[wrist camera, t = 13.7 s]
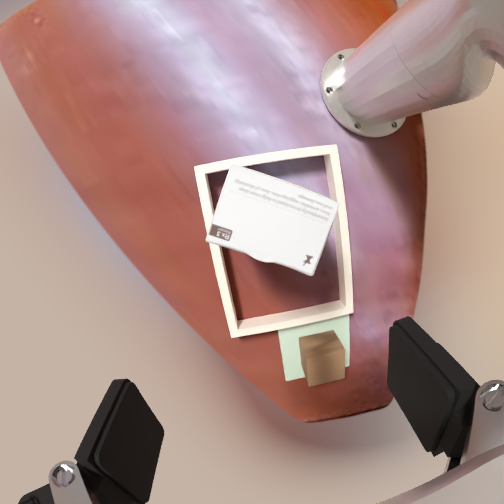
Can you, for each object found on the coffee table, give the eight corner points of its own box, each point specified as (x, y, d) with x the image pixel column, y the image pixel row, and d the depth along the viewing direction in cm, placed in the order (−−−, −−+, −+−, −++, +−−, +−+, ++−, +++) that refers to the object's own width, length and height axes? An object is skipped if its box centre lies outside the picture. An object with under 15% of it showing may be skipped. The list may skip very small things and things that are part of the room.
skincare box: (301, 190, 33) (349, 200, 18) (284, 237, 34) (318, 280, 20) (234, 167, 32) (231, 157, 17) (218, 216, 33) (203, 244, 19)
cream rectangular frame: (329, 146, 31) (336, 144, 29) (346, 304, 37) (353, 312, 34) (197, 167, 31) (193, 166, 29) (231, 328, 37) (231, 337, 34)
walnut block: (333, 329, 37) (345, 349, 32) (334, 357, 38) (344, 378, 33) (298, 337, 37) (306, 358, 32) (301, 365, 38) (308, 386, 33)
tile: (346, 307, 37) (348, 310, 36) (347, 363, 40) (349, 365, 39) (276, 323, 37) (277, 326, 36) (285, 377, 40) (286, 381, 39)
